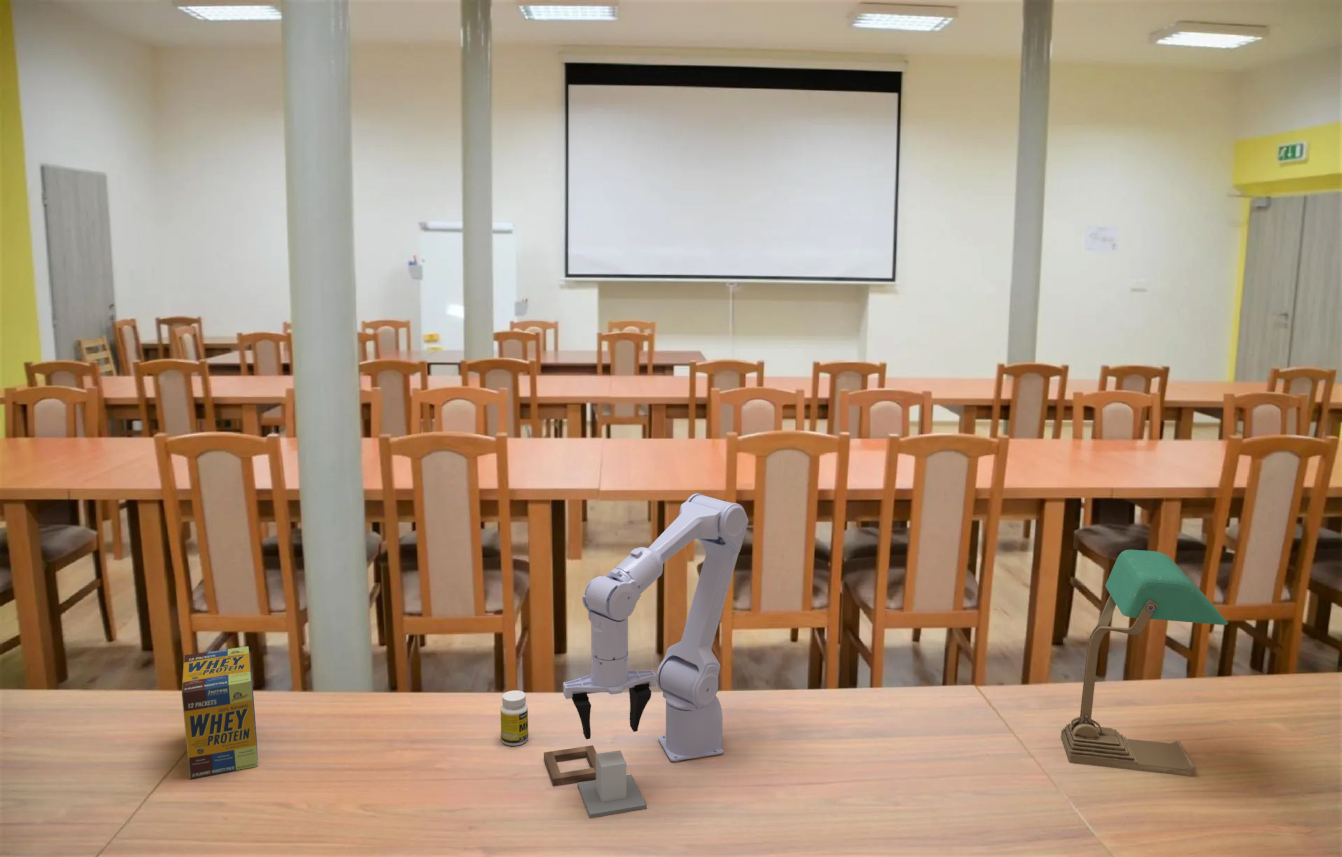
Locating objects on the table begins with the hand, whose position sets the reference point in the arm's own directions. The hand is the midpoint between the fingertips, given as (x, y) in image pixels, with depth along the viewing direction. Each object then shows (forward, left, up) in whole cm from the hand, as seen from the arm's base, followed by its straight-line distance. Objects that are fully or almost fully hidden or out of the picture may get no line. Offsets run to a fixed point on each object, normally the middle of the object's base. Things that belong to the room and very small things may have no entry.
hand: (610, 732), depth 158 cm
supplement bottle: (+13, -19, -10) cm, 25 cm away
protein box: (+61, -29, -10) cm, 68 cm away
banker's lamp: (-87, +16, -10) cm, 89 cm away
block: (+1, +2, -9) cm, 10 cm away
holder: (+5, -7, -10) cm, 13 cm away
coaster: (+1, +3, -10) cm, 10 cm away
